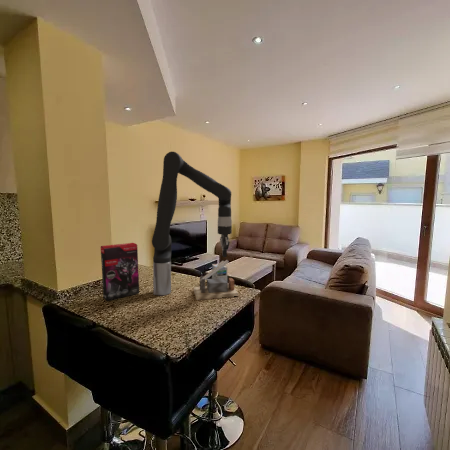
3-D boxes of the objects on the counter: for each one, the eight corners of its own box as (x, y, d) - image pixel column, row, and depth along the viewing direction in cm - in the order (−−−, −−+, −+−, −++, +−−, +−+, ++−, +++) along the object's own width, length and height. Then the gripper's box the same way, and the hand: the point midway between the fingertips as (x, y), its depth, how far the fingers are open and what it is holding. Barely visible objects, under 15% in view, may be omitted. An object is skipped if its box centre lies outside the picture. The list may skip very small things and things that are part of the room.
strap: (202, 283, 132) (199, 280, 132) (201, 281, 136) (199, 278, 135) (229, 262, 135) (227, 259, 134) (227, 261, 138) (225, 258, 138)
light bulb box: (227, 284, 151) (227, 267, 150) (217, 285, 149) (217, 268, 148) (221, 279, 161) (221, 263, 160) (211, 280, 159) (211, 264, 158)
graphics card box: (105, 302, 123) (104, 247, 120) (101, 298, 128) (99, 245, 125) (139, 294, 134) (138, 243, 132) (134, 290, 139) (133, 242, 137)
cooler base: (196, 299, 127) (196, 282, 126) (193, 290, 140) (193, 274, 140) (238, 296, 132) (238, 279, 131) (231, 287, 145) (231, 272, 145)
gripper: (215, 224, 140) (215, 254, 141) (220, 226, 127) (220, 259, 128) (228, 223, 141) (228, 254, 143) (234, 226, 128) (234, 259, 130)
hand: (224, 256), depth 136 cm, fingers closed
